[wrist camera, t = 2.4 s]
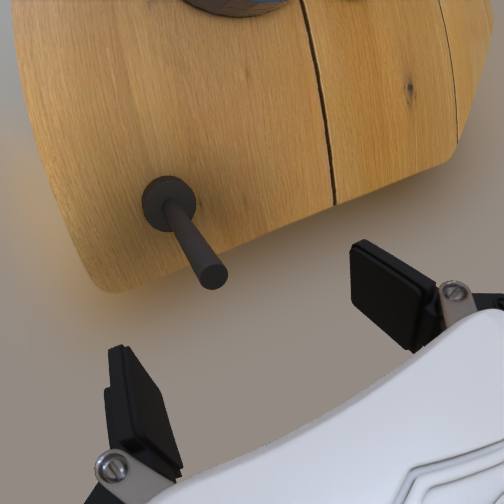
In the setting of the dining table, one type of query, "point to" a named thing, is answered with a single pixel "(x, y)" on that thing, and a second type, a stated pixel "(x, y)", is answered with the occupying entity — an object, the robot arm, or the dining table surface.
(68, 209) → the dining table surface
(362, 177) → the dining table surface
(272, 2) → the bowl
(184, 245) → the black disc-end rod
